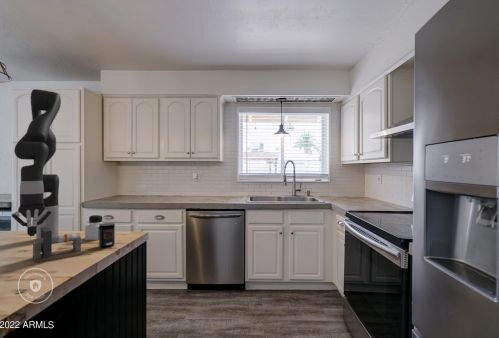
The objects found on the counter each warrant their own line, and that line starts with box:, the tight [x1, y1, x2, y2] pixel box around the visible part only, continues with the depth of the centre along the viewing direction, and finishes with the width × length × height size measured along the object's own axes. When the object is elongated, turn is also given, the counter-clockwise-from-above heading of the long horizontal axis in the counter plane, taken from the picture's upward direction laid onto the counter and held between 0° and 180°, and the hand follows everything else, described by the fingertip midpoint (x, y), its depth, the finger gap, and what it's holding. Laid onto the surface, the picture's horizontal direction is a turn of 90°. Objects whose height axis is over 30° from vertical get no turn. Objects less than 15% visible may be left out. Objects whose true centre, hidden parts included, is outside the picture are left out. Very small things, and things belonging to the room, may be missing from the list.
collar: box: [41, 227, 53, 257], centre depth 116 cm, size 10×2×10 cm, turn 43°
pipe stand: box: [32, 232, 83, 264], centre depth 119 cm, size 8×16×9 cm, turn 133°
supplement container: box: [98, 222, 116, 249], centre depth 135 cm, size 7×7×10 cm
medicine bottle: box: [84, 214, 103, 241], centre depth 148 cm, size 7×7×12 cm
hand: (31, 235), depth 113 cm, fingers closed
